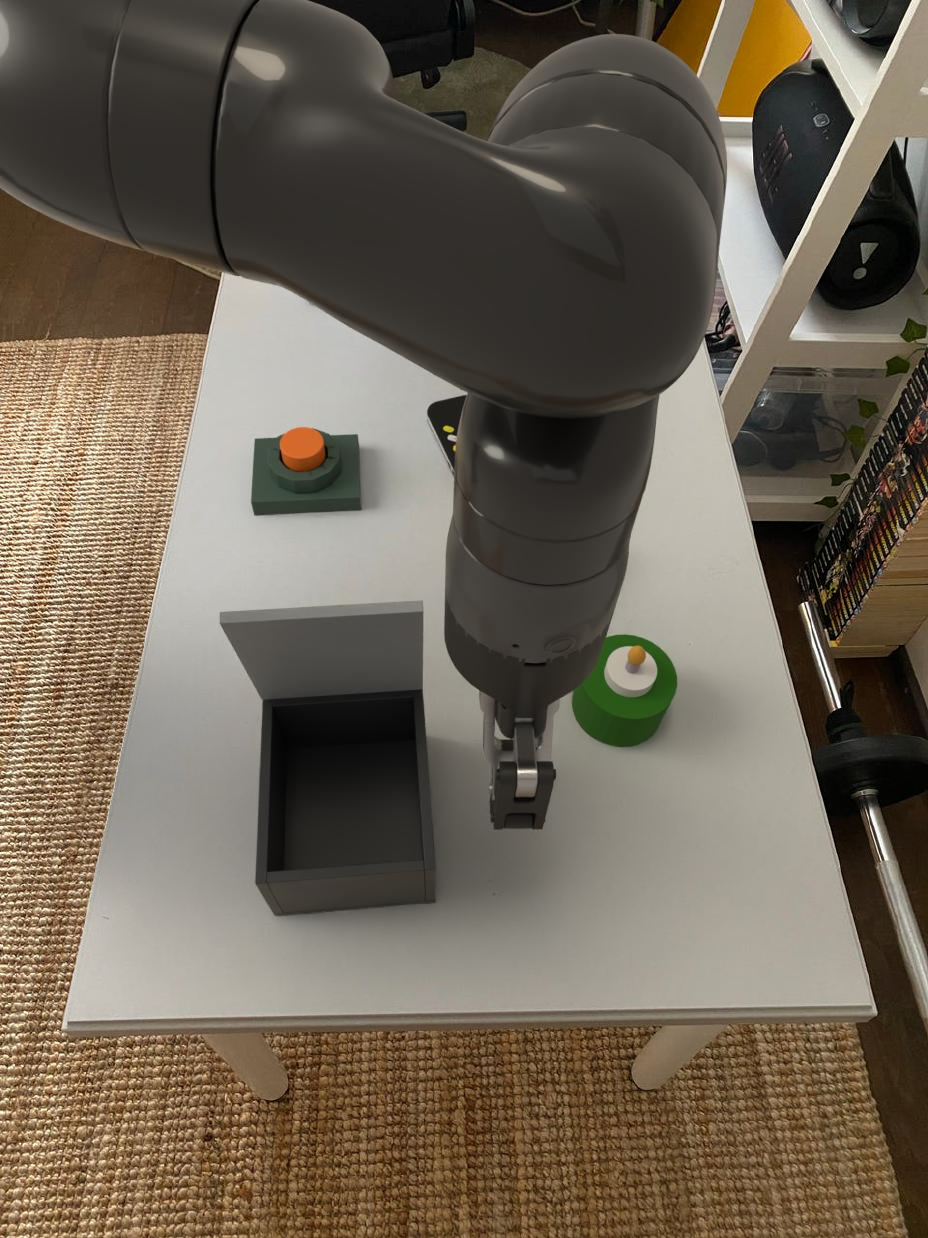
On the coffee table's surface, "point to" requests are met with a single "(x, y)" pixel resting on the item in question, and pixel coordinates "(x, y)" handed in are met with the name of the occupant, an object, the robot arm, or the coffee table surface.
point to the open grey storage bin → (344, 803)
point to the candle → (626, 692)
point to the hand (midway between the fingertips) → (505, 741)
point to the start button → (302, 449)
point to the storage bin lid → (329, 648)
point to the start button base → (306, 478)
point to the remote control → (446, 424)
